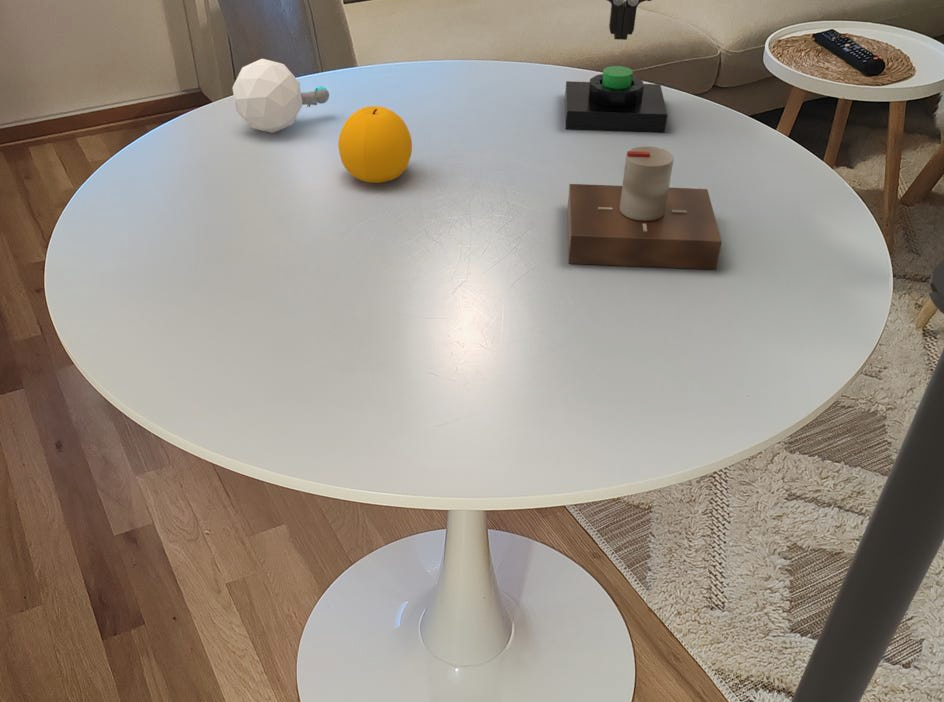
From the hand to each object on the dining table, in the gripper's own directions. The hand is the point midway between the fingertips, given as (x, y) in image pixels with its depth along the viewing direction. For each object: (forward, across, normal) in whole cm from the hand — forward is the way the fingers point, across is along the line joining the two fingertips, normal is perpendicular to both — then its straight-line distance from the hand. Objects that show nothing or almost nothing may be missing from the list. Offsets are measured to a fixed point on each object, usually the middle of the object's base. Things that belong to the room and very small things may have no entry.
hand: (620, 37), depth 109 cm
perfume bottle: (+10, -40, -7) cm, 42 cm away
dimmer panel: (+9, +1, -32) cm, 33 cm away
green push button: (+6, 0, 0) cm, 6 cm away
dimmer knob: (+6, +1, -32) cm, 33 cm away
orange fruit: (+10, -27, -20) cm, 35 cm away
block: (+9, 0, 0) cm, 9 cm away
